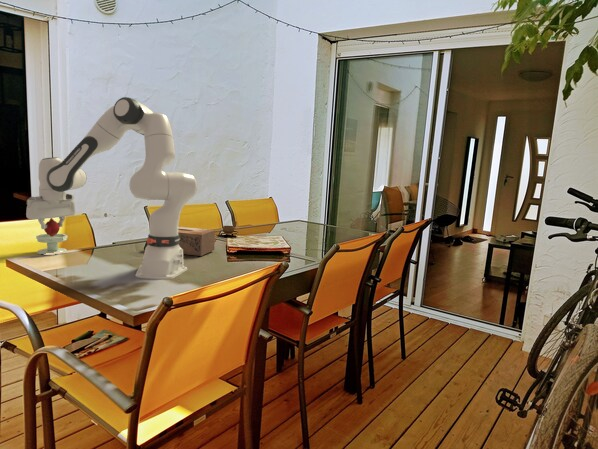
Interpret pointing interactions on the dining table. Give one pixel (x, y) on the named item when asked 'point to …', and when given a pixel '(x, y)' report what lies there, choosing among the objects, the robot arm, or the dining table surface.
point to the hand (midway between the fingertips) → (52, 227)
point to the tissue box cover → (196, 240)
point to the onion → (52, 227)
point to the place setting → (229, 229)
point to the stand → (51, 243)
